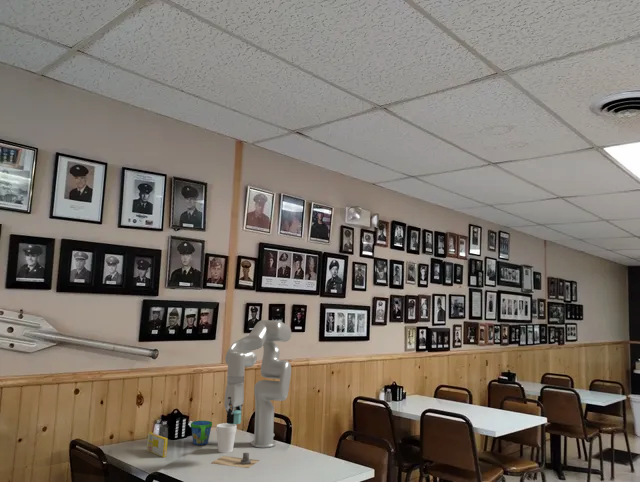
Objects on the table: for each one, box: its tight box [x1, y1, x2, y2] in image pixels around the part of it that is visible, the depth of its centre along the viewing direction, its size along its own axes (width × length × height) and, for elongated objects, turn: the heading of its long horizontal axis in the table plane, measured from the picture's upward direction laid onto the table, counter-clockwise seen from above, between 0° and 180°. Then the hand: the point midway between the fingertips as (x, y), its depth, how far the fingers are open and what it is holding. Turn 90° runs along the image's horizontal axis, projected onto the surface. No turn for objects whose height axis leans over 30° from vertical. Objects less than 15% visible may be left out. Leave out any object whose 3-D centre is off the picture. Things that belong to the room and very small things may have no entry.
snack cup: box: [190, 420, 213, 446], centre depth 264 cm, size 16×10×10 cm
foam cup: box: [215, 422, 238, 454], centre depth 247 cm, size 10×9×13 cm
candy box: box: [146, 431, 169, 458], centre depth 245 cm, size 16×2×8 cm, turn 45°
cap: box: [228, 409, 242, 425], centre depth 233 cm, size 6×6×5 cm
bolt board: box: [210, 452, 261, 469], centre depth 230 cm, size 12×18×6 cm, turn 73°
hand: (233, 421), depth 232 cm, fingers closed on cap, 6 cm apart
